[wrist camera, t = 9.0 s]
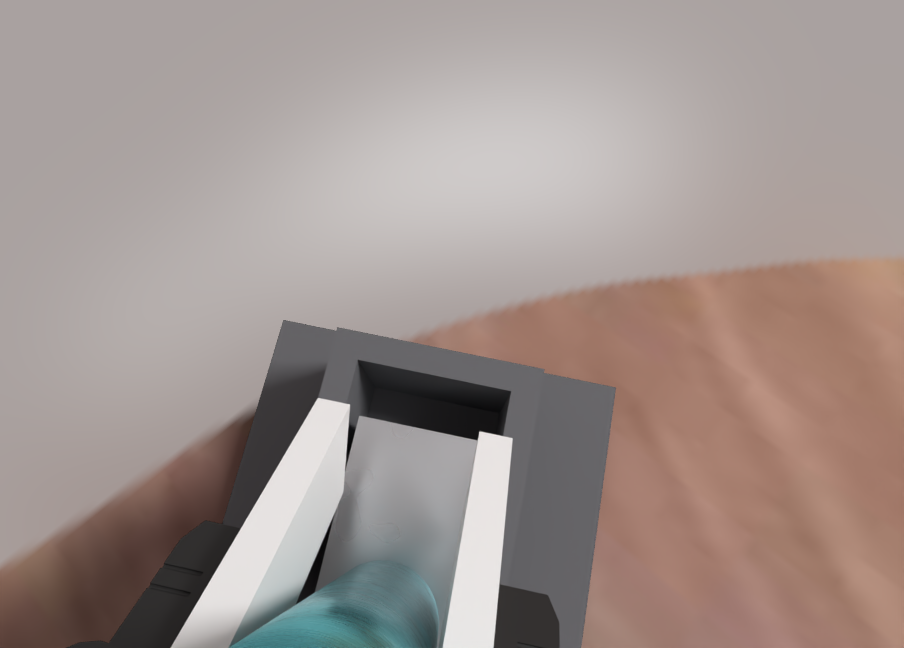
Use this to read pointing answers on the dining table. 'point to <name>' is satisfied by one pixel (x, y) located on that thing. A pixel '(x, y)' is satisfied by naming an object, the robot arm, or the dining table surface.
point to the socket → (460, 414)
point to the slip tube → (384, 545)
